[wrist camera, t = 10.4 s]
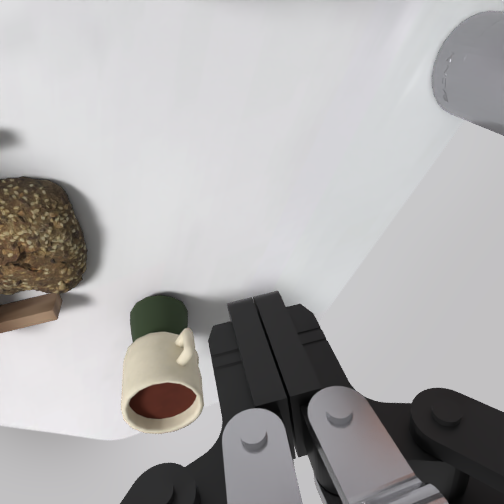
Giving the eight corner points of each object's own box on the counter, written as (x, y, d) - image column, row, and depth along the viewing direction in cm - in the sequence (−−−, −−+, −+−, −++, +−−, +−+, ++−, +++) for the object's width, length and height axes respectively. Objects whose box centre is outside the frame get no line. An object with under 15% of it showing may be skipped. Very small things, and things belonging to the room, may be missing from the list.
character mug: (164, 355, 51) (170, 453, 40) (107, 337, 48) (96, 439, 37) (211, 288, 47) (231, 376, 37) (153, 264, 44) (156, 354, 33)
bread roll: (77, 173, 38) (69, 195, 34) (94, 285, 44) (89, 316, 40) (-87, 175, 35) (-118, 199, 31) (-44, 295, 42) (-65, 328, 37)
